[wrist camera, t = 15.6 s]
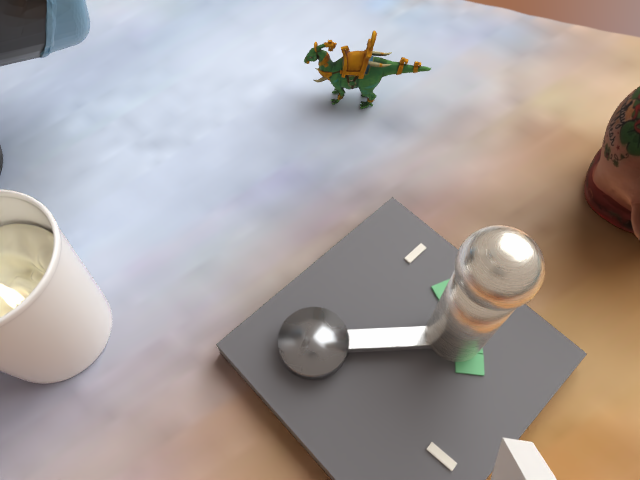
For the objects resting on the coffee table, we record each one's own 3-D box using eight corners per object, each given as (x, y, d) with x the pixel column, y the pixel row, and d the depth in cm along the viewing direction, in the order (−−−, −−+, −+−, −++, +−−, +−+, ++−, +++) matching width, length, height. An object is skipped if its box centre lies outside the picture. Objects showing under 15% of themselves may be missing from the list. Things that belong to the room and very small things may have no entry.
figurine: (307, 84, 54) (305, 15, 47) (422, 95, 53) (438, 26, 46) (302, 105, 52) (300, 37, 45) (421, 117, 52) (438, 50, 45)
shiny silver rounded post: (279, 381, 36) (261, 303, 24) (278, 314, 38) (262, 214, 27) (489, 371, 36) (572, 290, 25) (475, 306, 39) (544, 203, 27)
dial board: (220, 353, 39) (215, 343, 37) (389, 210, 46) (392, 195, 44) (408, 567, 32) (414, 568, 30) (575, 362, 39) (588, 353, 37)
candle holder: (14, 422, 37) (-105, 374, 26) (-23, 313, 41) (-138, 235, 30) (143, 349, 39) (82, 280, 29) (96, 254, 43) (28, 164, 33)
